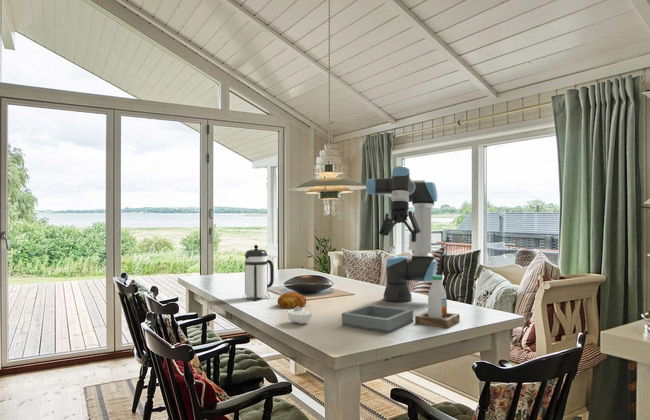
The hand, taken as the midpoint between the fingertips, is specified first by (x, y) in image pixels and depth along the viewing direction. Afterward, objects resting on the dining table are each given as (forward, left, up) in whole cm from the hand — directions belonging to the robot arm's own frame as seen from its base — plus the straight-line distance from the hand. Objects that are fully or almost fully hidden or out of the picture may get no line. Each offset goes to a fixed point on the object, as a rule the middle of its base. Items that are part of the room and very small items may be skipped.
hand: (398, 250), depth 193 cm
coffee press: (-6, -92, -31) cm, 97 cm away
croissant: (-1, -62, -31) cm, 69 cm away
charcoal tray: (+7, -7, -31) cm, 32 cm away
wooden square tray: (-9, +13, -31) cm, 35 cm away
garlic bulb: (+25, -35, -31) cm, 53 cm away
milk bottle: (-9, +13, -31) cm, 35 cm away
